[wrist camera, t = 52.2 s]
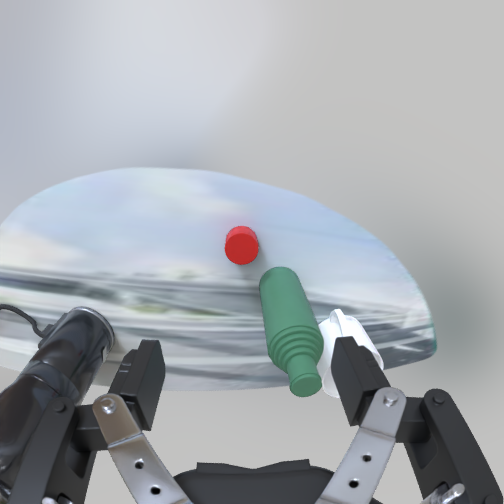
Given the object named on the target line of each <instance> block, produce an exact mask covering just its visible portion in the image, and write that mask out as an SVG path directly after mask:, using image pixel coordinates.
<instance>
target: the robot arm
mask: <svg viewBox="0 0 504 504" xmlns="http://www.w3.org/2000/svg"><path fill="white" fill-rule="evenodd" d="M1 309H7V310H11V311H13V312H15V313H17V314H19V315H21V316H22V317H24V318H25V319H27V320H28V321H29V322H30V323H31V324H32V326H33V330H34V332H35V333H36V334H37V335H38V336H40V337H41V338H43V339H42V340H41V341H40V343H39V344H38V348H39V350H38V351H37V352H36V354H35V355H34V356H33V357H32V359H31V360H30V361H29V363H28V364H27V365H26V367H25V368H24V369H23V371H22V372H21V373H20V375H19V376H18V377H17V379H16V380H15V381H14V382H13V383H12V384H11V385H10V386H8V387H7V388H5V389H4V390H3V391H2V392H1V393H0V504H84V501H85V496H86V492H87V488H88V484H89V480H90V476H91V472H92V468H93V464H94V460H95V457H96V453H97V451H100V450H108V451H109V453H110V455H111V457H112V459H113V461H114V463H115V465H116V467H117V469H118V471H119V473H120V475H121V476H122V478H123V480H124V482H125V484H126V486H127V487H128V489H129V491H130V493H131V494H132V496H133V498H134V499H135V501H136V503H137V504H382V503H381V502H379V501H378V500H376V499H374V498H373V497H372V496H373V494H374V492H375V490H376V488H377V486H378V484H379V481H380V479H381V477H382V475H383V472H384V470H385V468H386V465H387V463H388V460H389V458H390V455H391V453H392V450H393V447H394V445H395V443H404V446H405V448H406V451H407V454H408V457H409V459H410V462H411V465H412V467H413V470H414V473H415V476H416V479H417V482H418V485H419V488H420V490H421V494H422V497H423V501H422V502H421V503H420V504H503V496H502V493H501V491H500V489H499V486H498V484H497V482H496V480H495V478H494V475H493V473H492V471H491V469H490V467H489V465H488V463H487V461H486V459H485V457H484V455H483V453H482V451H481V449H480V447H479V445H478V443H477V442H476V440H475V438H474V436H473V434H472V432H471V430H470V429H469V427H468V425H467V423H466V422H465V420H464V418H463V417H462V415H461V413H460V411H459V409H458V408H457V406H456V404H455V403H454V401H453V399H452V398H451V396H450V395H449V394H448V393H447V392H445V391H444V390H441V389H431V390H429V391H427V392H426V394H425V395H424V397H423V398H416V397H406V396H405V395H404V394H403V392H402V391H400V390H399V389H396V388H393V387H391V386H390V384H389V382H388V380H387V379H386V377H385V375H384V373H383V372H382V370H381V368H380V366H379V364H378V362H377V361H376V360H375V357H374V355H373V354H372V352H371V351H370V350H369V349H368V348H366V347H365V346H364V345H361V346H358V344H357V342H356V340H355V339H354V337H353V336H345V337H337V338H336V340H335V344H334V349H333V354H332V359H331V374H332V377H333V380H334V382H335V385H336V388H337V391H338V393H339V396H340V399H341V401H342V404H343V407H344V410H345V413H346V415H347V418H348V421H349V424H350V426H355V425H359V427H360V428H359V429H358V431H357V433H356V436H355V437H354V439H353V441H352V443H351V445H350V447H349V449H348V451H347V453H346V454H345V456H344V458H343V460H342V462H341V463H340V465H339V467H338V468H337V470H336V472H333V471H330V470H328V469H325V468H321V467H317V466H310V463H309V459H304V460H296V461H284V462H279V463H276V464H272V465H268V466H265V467H261V468H257V469H249V468H243V467H238V466H233V465H229V464H224V463H223V464H222V463H198V462H197V468H196V469H194V470H189V471H186V472H183V473H180V474H178V475H176V476H174V477H172V476H171V474H170V473H169V472H168V470H167V469H166V467H165V466H164V464H163V463H162V461H161V460H160V459H159V457H158V455H157V454H156V452H155V451H154V450H153V448H152V446H151V445H150V443H149V442H148V440H147V438H146V437H145V435H144V434H143V433H142V430H146V431H151V427H152V424H153V420H154V416H155V412H156V408H157V405H158V401H159V397H160V393H161V390H162V386H163V383H164V379H165V363H164V359H163V355H162V350H161V345H160V342H159V340H145V339H143V340H142V341H141V343H140V345H139V348H138V350H134V349H132V350H131V351H130V352H129V353H127V354H126V355H125V356H124V359H123V361H122V363H121V365H120V367H119V369H118V371H117V373H116V376H115V378H114V380H113V382H112V384H111V387H110V389H109V391H108V393H107V394H104V395H102V396H100V397H98V398H97V399H96V400H95V401H94V403H93V404H91V405H81V403H82V401H83V399H84V397H85V395H86V393H87V391H88V390H89V388H90V386H91V384H92V382H93V380H94V378H95V376H96V374H97V372H98V370H99V369H100V367H101V365H102V363H104V362H105V360H106V358H107V354H108V352H109V351H110V350H111V348H112V346H113V344H114V334H113V331H112V328H111V327H110V325H109V323H108V322H107V321H106V320H105V318H104V317H102V316H101V315H100V314H99V313H97V312H96V311H94V310H92V309H90V308H87V307H76V308H73V309H72V310H71V311H70V312H69V313H64V315H63V316H62V317H61V318H60V319H59V320H58V321H57V323H56V324H55V325H51V324H49V325H48V326H47V327H46V328H45V329H44V330H43V332H41V331H39V330H38V328H37V324H36V322H35V320H33V319H32V318H31V317H30V316H28V315H27V314H26V313H24V312H23V311H21V310H19V309H17V308H15V307H13V306H10V305H5V304H1V305H0V310H1Z"/></svg>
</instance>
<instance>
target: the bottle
mask: <svg viewBox="0 0 504 504" xmlns="http://www.w3.org/2000/svg"><path fill="white" fill-rule="evenodd" d="M259 289H260V297H261V304H262V312H263V319H264V327H265V334H266V342H267V349H268V355H269V357H270V359H271V360H272V362H273V363H274V364H275V365H276V366H277V367H278V368H280V369H281V370H283V371H284V372H286V373H287V374H288V376H289V381H290V391H291V392H292V393H293V394H294V395H296V396H299V397H308V396H311V395H313V394H315V393H316V392H318V391H319V390H320V388H321V387H322V384H323V383H322V379H321V377H320V375H319V373H318V370H317V367H316V366H317V364H318V362H319V360H320V358H321V356H322V353H323V350H324V339H323V336H322V333H321V331H320V329H319V326H318V324H317V321H316V319H315V317H314V314H313V312H312V309H311V307H310V305H309V302H308V300H307V297H306V295H305V293H304V290H303V288H302V286H301V283H300V281H299V279H298V276H297V275H296V273H295V272H294V271H292V270H291V269H289V268H285V267H276V268H272V269H270V270H269V271H267V272H266V273H265V274H264V275H263V276H262V278H261V280H260V283H259Z"/></svg>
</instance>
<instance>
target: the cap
mask: <svg viewBox="0 0 504 504" xmlns="http://www.w3.org/2000/svg"><path fill="white" fill-rule="evenodd" d="M258 246H259V245H258V240H257V237H256V234H255V232H254V231H253V230H252V229H250V228H249V227H245V226H238V227H235V228H233V229H232V230H231V231H230V232H229V233H228V235H227V237H226V243H225V253H226V256H227V257H228V259H229V260H230V261H232V262H233V263H235V264H239V265H244V264H248V263H250V262H252V261H253V260H254V259H255V258H256V256H257V254H258Z"/></svg>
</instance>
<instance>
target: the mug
mask: <svg viewBox="0 0 504 504" xmlns="http://www.w3.org/2000/svg"><path fill="white" fill-rule="evenodd" d="M318 326H319V329H320V331H321V333H322V336H323V339H324V350H323V353H322V356H321V358H320V360H319V362H318V364H317V366H316V367H317V370H318V373H319V375H320V377H321V379H322V383H323V384H322V388H323V390H324V391H325V393H326V394H328V395H329V396H332V397H335V398H340V396H339V393H338V391H337V388H336V385H335V382H334V380H333V377H332V374H331V359H332V354H333V349H334V344H335V340H336V338H337V337H345V336H353V337H354V339H355V340H356V342H357V344H358V346H361V345H364V346H365V347H366V348H368V349H369V350H370V351H371V352H372V354H373V355H374V357H375V360H376V361H377V362H378V364H379V366H380V368H381V370H382V371H383V360H382V358H381V356H380V355H379V353H378V351H377V350H376V348H375V346H374V345H373V343H372V342H371V340H370V338H369V337H368V335H367V333H366V332H365V330H364V329H363V327H362V325H361V324H360V322H359V321H358V320H357V319H355V318H353V317H351V316H346V315H344V314H343V313H342V311H341V310H340V309H335V310H333V311H332V312H331V313H330V318H328V319H326V320H324V321H322V322H321V323H320V324H319V325H318Z"/></svg>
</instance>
